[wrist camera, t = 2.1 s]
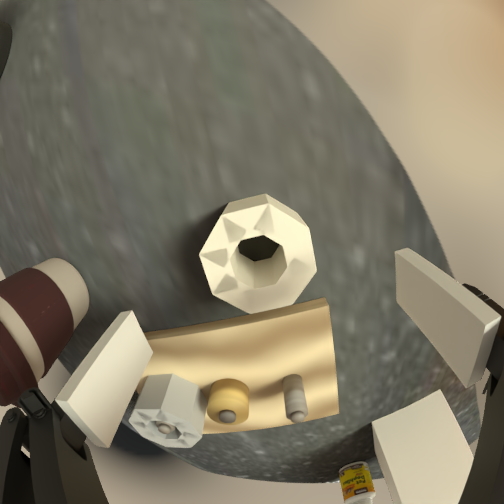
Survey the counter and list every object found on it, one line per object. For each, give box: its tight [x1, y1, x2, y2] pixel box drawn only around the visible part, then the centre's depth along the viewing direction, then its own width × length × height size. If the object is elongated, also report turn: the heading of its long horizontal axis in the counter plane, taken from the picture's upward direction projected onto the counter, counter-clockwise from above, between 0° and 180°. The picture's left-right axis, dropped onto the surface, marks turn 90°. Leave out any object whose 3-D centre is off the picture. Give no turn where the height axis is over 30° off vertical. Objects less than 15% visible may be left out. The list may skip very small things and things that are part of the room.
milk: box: [372, 390, 474, 504], centre depth 19 cm, size 12×12×26 cm
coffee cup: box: [0, 258, 89, 408], centre depth 17 cm, size 10×10×15 cm
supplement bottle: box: [339, 461, 375, 504], centre depth 31 cm, size 6×6×10 cm
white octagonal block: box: [199, 194, 317, 314], centre depth 20 cm, size 7×7×5 cm
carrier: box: [135, 297, 339, 434], centre depth 24 cm, size 16×22×7 cm
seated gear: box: [129, 373, 208, 448], centre depth 24 cm, size 7×7×5 cm
